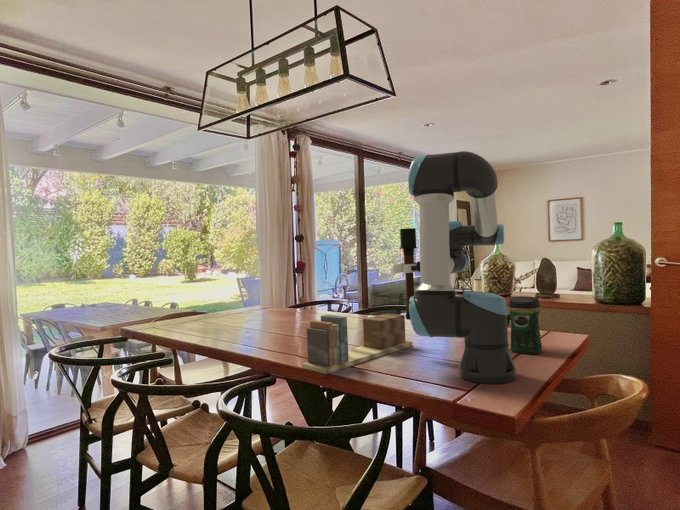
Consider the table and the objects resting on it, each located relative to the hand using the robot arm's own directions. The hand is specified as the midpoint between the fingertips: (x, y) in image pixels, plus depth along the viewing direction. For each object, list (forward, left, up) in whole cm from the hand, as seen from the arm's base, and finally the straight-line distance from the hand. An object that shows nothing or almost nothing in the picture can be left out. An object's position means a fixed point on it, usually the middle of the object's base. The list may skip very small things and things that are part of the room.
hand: (399, 269), depth 143 cm
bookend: (+17, +5, -28) cm, 34 cm away
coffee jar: (+9, -41, -30) cm, 52 cm away
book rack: (+7, +14, -30) cm, 34 cm away
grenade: (+4, -3, -17) cm, 18 cm away
